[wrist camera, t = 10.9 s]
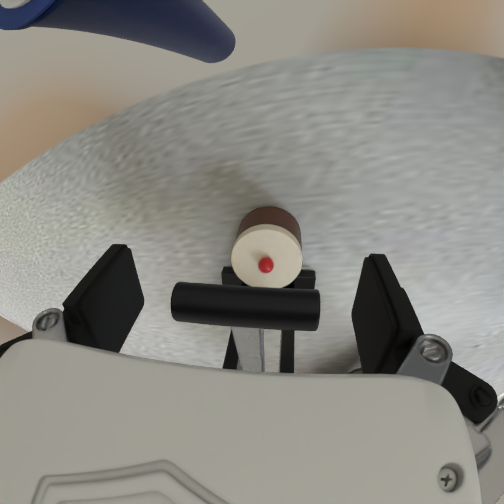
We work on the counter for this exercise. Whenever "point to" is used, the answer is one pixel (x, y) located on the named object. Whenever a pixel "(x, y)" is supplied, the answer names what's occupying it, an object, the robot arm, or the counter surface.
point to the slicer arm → (247, 313)
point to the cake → (267, 248)
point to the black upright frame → (287, 336)
